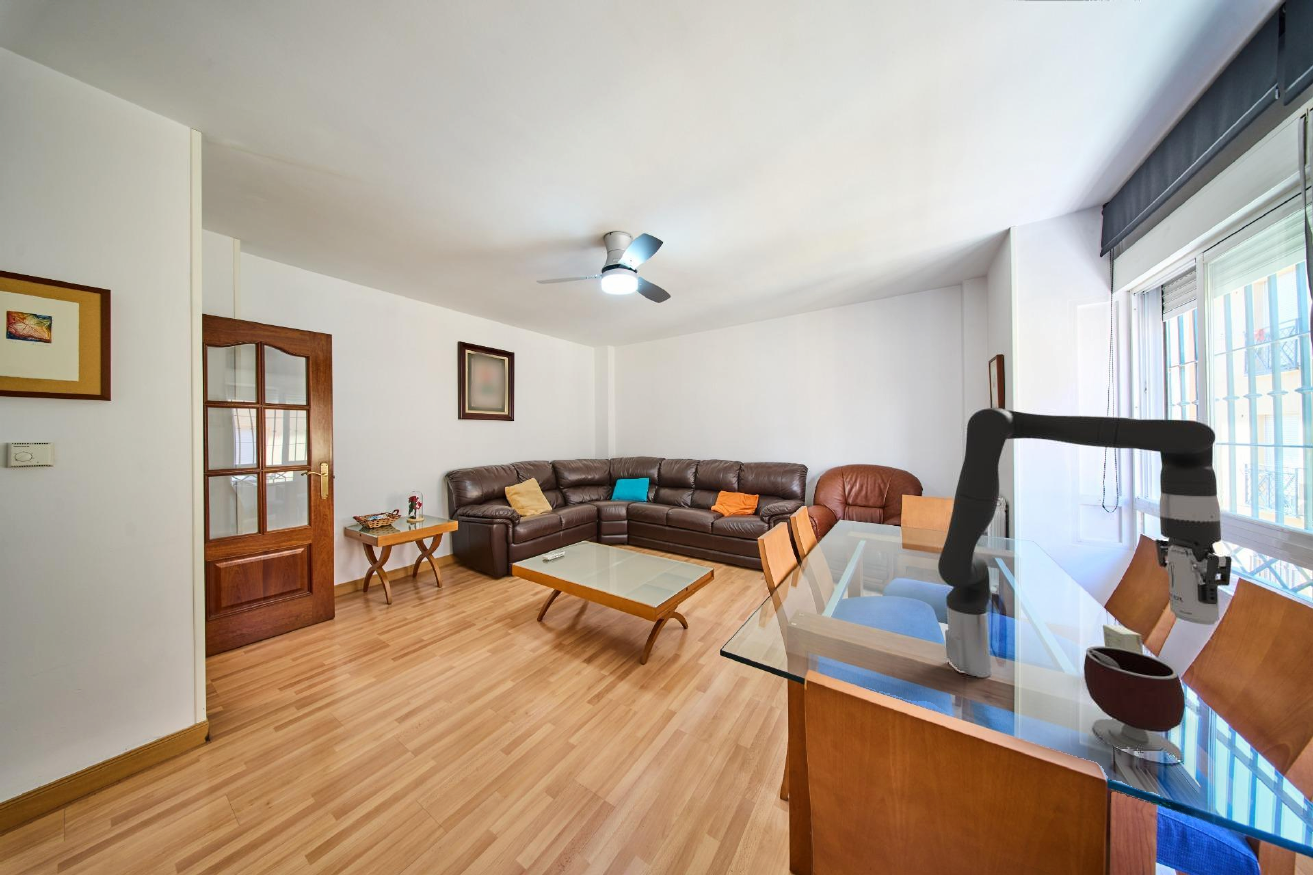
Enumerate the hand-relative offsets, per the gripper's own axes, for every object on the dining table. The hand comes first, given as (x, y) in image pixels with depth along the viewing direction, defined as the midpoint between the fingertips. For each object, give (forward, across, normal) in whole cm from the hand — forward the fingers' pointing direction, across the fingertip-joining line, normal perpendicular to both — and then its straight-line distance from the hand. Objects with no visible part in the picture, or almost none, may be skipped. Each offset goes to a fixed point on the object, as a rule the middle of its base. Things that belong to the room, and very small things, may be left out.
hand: (1192, 596), depth 83 cm
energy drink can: (+5, 0, 0) cm, 5 cm away
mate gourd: (+32, -1, +11) cm, 34 cm away
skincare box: (+32, +30, -5) cm, 44 cm away
